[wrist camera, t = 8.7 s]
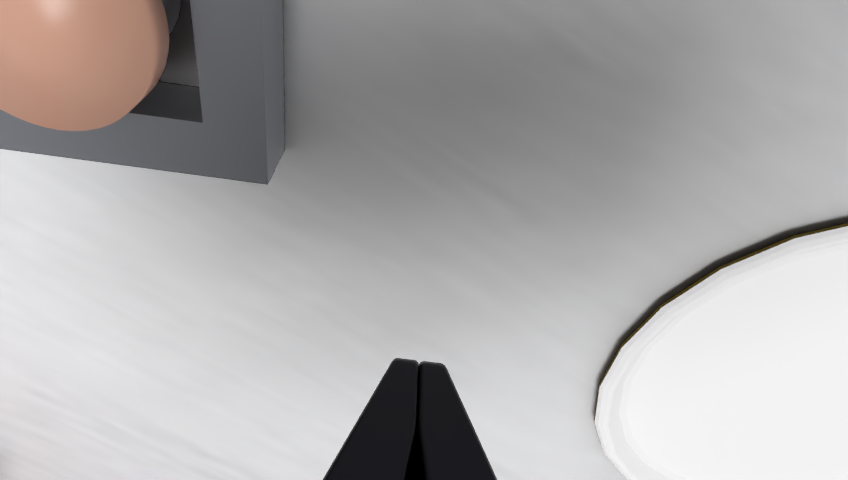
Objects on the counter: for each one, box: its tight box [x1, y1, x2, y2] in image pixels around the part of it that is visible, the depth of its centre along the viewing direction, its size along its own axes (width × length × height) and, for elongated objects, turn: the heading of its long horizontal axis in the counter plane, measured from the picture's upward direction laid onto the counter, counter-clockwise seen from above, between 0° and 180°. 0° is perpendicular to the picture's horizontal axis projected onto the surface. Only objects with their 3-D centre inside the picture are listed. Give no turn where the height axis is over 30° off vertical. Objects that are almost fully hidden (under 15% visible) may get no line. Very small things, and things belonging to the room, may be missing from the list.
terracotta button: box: [0, 0, 181, 131], centre depth 16 cm, size 6×6×4 cm
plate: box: [594, 223, 848, 480], centre depth 27 cm, size 21×21×1 cm
